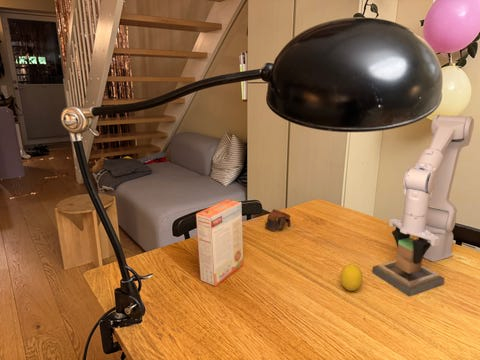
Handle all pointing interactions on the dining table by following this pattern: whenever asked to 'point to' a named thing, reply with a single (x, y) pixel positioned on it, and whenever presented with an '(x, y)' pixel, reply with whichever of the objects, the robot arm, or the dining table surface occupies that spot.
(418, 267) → the brown and green block
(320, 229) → the dining table surface
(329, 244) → the dining table surface
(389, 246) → the dining table surface
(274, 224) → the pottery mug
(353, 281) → the lemon
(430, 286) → the gray square tray
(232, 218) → the cracker box
